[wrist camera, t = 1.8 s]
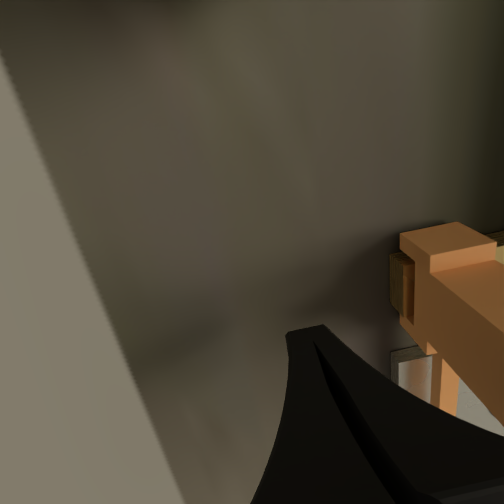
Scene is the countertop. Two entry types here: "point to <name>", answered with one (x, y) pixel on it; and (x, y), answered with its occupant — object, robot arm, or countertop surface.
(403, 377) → the bolt plate
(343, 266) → the countertop surface
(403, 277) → the rail
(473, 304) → the slider leg
